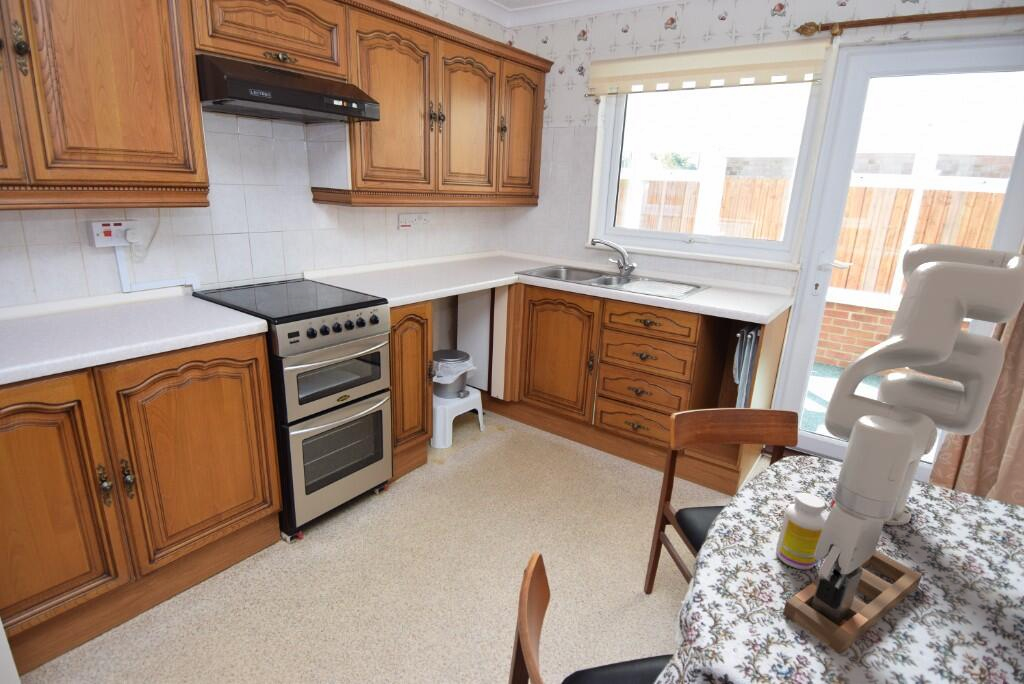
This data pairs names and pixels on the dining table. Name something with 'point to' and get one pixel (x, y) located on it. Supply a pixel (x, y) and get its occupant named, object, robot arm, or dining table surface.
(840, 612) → the peg
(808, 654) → the dining table surface
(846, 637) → the rack
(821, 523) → the supplement bottle
